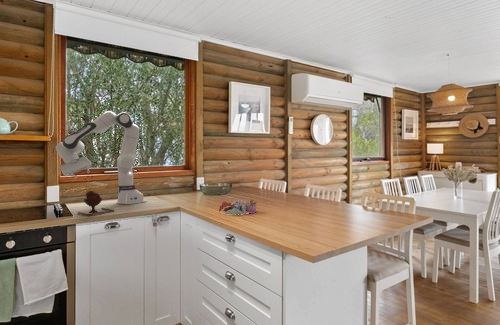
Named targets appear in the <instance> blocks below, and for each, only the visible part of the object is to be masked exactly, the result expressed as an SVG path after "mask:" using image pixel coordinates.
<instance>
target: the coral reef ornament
mask: <svg viewBox="0 0 500 325" xmlns="http://www.w3.org/2000/svg"><path fill="white" fill-rule="evenodd" d="M257 203H258V202H257V201H254V199H253V198H250V200H249V202H248V201H246V200H244V199H241V198H240V199H238V200H237V201H233V202H232V203H231V202H229V201H228V202H227V201H226V200H223V201H222V202H221V205H220V206H219V209H218V212H220V211H221V212H222V211H225V212H226V213H225V214H232V215H235V214H236V215H238V214H239V215H241V214H243V213H244V214H246V213H248V215H250V214H249V213H253V214H255V212H256V213H257Z"/></svg>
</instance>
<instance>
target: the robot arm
mask: <svg viewBox="0 0 500 325" xmlns="http://www.w3.org/2000/svg"><path fill="white" fill-rule="evenodd" d="M113 125H116V126H118V127H120V128H123V129H124V135H123V138H122V143H121V148H120V150H121V151H120V155H119V156H118V157H117V159H116V163H117V164H116V165H117V174H118V176H117V177H118V185H117V192H118V197H117V200H116V204H119V205H132V204H140V203H146V202H147V199H146V198H145V197H144V194H143V193H142V192H140V190H137V188H138V185H135V184H134V173H133V172H134V171H133V166H134V164H135V161H136V160H135V158H136V153H137V145H138V141H139V137H140V127H139V126H138V125H137V124H135V123H134V121H133V118H132V116H131V115H130V114H129V113H128V112H124V111H123V112H120V113H118V114H116V113H115V112H113V111H111V110H108V111H104V113H102V114H101V115H99V116H97V118H95V119H94V120H92V121H90V122H88V123H86V124H85V125H83V126H82V127H80V128H79V129H78V130H76V131H74V132H73V133H71V134H68V135H66V136H64V137H63V139H62V141H60V142H59V143H57V144H56V146H55V151H56V152H57V154H58V156H59V157H60V158H61V159H62V161H63V162H64V163H63V164H61V165H59V166H58V170H60V171H61V172H62V174H63V176H64V177H68V176H71V177H73V178H74V179H77V178H78V176H77V174H75V173H78V172H81V171H83V170H86V173H87V174H89V173H90V172H91V171H90V170H89V168H91V167H92V163H93V162H91V160H90V159H88V158H87V157H85V154H79V153H82V152H83V151H84V149H85V147H86V145H85V144H84V142H82V141H81V140H83V138H85V137H86V136H87V135H89V134H91V133H94V134H95V133H97V134H102V133H105V132H106V131H107V130H109V129H110V128H111V127H113Z"/></svg>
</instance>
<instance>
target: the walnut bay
mask: <svg viewBox="0 0 500 325" xmlns="http://www.w3.org/2000/svg"><path fill="white" fill-rule="evenodd" d="M101 210H102V211H98V212H97V213H85V212H82V211H77V212H76V213H77V215H80V214H81V216H85V217H93V216H97V215H102V214H108V213H113V212H115V209H112V208H108V207H101Z"/></svg>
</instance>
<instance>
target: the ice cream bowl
mask: <svg viewBox="0 0 500 325" xmlns="http://www.w3.org/2000/svg"><path fill="white" fill-rule="evenodd" d="M85 197H86V198H84V199H83V201H84V203H85V204H86V206H89V207H91V210H90V211H88V214H92V213H98V212H99V211H98V210H97V209H96V206H99V205H100V203H102V200H103V198H102V197H101V195H100V194H99V193H98V192H95V191H94V190H89V191H87V192H86V194H85Z"/></svg>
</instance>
